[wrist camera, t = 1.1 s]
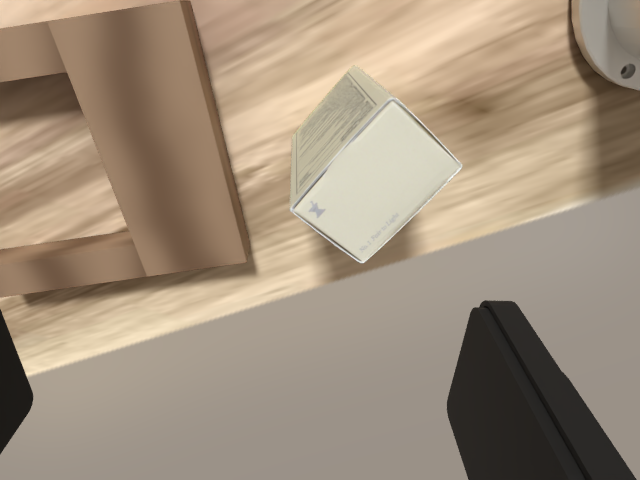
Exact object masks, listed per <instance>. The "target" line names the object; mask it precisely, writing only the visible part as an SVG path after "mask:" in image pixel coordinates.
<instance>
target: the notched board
mask: <svg viewBox="0 0 640 480" xmlns="http://www.w3.org/2000/svg"><path fill="white" fill-rule="evenodd" d="M64 72H67V74H68V76H69V79H70V81H71V84H72V86H73V89H74V91H75V94H76V96H77V99H78V102H79V104H80V107H81V109H82V112H83V114H84V117H85V119H86V122H87V125H88V127H89V130H90V132H91V135H92V137H93V140H94V142H95V145H96V147H97V150H98V153H99V155H100V158H101V160H102V163H103V165H104V168H105V170H106V173H107V175H108V178H109V181H110V183H111V186H112V188H113V191H114V193H115V196H116V198H117V201H118V204H119V206H120V209H121V211H122V214H123V216H124V219H125V221H126V224H127V226H128V229H129V231H126V232H119V233H112V234H105V235H98V236H91V237H84V238H77V239H70V240H64V241H57V242H50V243H43V244H36V245H29V246H22V247H15V248H8V249H2V250H0V297H8V296H15V295H22V294H29V293H36V292H43V291H50V290H57V289H64V288H71V287H78V286H85V285H92V284H99V283H106V282H113V281H120V280H127V279H134V278H141V277H148V276H155V275H162V274H169V273H176V272H183V271H190V270H197V269H204V268H211V267H218V266H225V265H232V264H239V263H246V262H247V258H248V253H249V248H250V243H249V239H248V234H247V230H246V226H245V222H244V218H243V214H242V210H241V206H240V202H239V198H238V194H237V190H236V186H235V182H234V178H233V173H232V169H231V165H230V161H229V157H228V153H227V149H226V145H225V141H224V137H223V133H222V129H221V125H220V121H219V117H218V113H217V108H216V104H215V100H214V96H213V92H212V88H211V84H210V80H209V76H208V72H207V68H206V64H205V60H204V56H203V52H202V47H201V43H200V39H199V35H198V31H197V27H196V23H195V19H194V15H193V11H192V7H191V3H190V1H185V0H179V1H173V2H167V3H160V4H154V5H148V6H141V7H135V8H128V9H122V10H116V11H109V12H103V13H97V14H90V15H84V16H78V17H71V18H65V19H59V20H52V21H46V22H40V23H33V24H27V25H20V26H14V27H8V28H1V29H0V82H5V81H12V80H18V79H25V78H31V77H38V76H44V75H51V74H57V73H64Z"/></svg>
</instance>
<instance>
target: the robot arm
mask: <svg viewBox="0 0 640 480" xmlns="http://www.w3.org/2000/svg"><path fill="white" fill-rule="evenodd" d="M572 23H573V29H574V34H575V39H576V41H577V44H578V46H579V48H580V50H581V53H582V55H583V57H584V58H585V59H586V61H587V62H588V63H589V65H590V66H591V67H592V69H593V70H594V71H596V72H597V73H598V74H600V75H601V76H602V77H603V78H605V79H606V80H608V81H610V82H613V83H615V84H617V85H620V86H622V87H627V88H631V89H635V90H640V0H572ZM32 402H33V393H32V390H31V387H30V384H29V382H28V379H27V377H26V374H25V372H24V369H23V366H22V364H21V361H20V359H19V356H18V354H17V351H16V348H15V346H14V343H13V341H12V338H11V336H10V333H9V330H8V328H7V325H6V323H5V320H4V317H3V315H2V312H1V310H0V454H1V452H2V451H3V449H4V448H5V447H6V445H7V444H8V442H9V441H10V439H11V438H12V436H13V435H14V433H15V432H16V430H17V429H18V427H19V426H20V424H21V423H22V421H23V420H24V418H25V417H26V416H27V414H28V412H29V411H30V409H31V406H32ZM447 413H448V418H449V421H450V424H451V427H452V430H453V433H454V436H455V439H456V442H457V445H458V448H459V452H460V455H461V458H462V461H463V464H464V467H465V470H466V473H467V476H468V479H469V480H636V478H635V477H634V475H633V474H632V472H631V471H630V469H629V468H628V467H627V465H626V463H625V462H624V460H623V459H622V458H621V456H620V454H619V453H618V451H617V450H616V448H615V447H614V446H613V444H612V442H611V441H610V439H609V438H608V437H607V435H606V433H605V432H604V431H603V429H602V428H601V426H600V425H599V423H598V422H597V420H596V419H595V417H594V416H593V414H592V413H591V411H590V410H589V408H588V407H587V405H586V404H585V403H584V401H583V399H582V398H581V396H580V395H579V393H578V392H577V390H576V389H575V388H574V386H573V385H572V383H571V382H570V380H569V379H568V378H567V377H566V375H565V374H564V373H563V372H562V371H561V370H560V368H559V367H558V365H557V364H556V362H555V361H554V360H553V358H552V356H551V355H550V353H549V352H548V350H547V349H546V347H545V346H544V344H543V343H542V341H541V340H540V338H539V337H538V335H537V334H536V332H535V331H534V330H533V328H532V327H531V325H530V323H529V322H528V320H527V319H526V317H525V316H524V314H523V313H522V311H521V310H520V308H519V307H518V306H517V304H516V303H515V302H512V301H483V302H482V303H481V305H480V307H479V308H473V309H472V311H471V313H470V317H469V321H468V324H467V328H466V332H465V336H464V340H463V343H462V347H461V351H460V355H459V358H458V362H457V366H456V369H455V373H454V377H453V381H452V384H451V388H450V392H449V396H448V400H447Z"/></svg>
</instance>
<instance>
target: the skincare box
mask: <svg viewBox="0 0 640 480" xmlns="http://www.w3.org/2000/svg"><path fill="white" fill-rule="evenodd" d="M461 168H462V164H461V163H460V162H459V160H458V159H457V158H456V157H455V156H454V155H453V154H452V153H451V152H450V151H449V150H448V149H447V148H446V147H445V146H444V145H443V143H442V142H441V141H440V140H439V139H438V138H437V137H436V136H435V135H434V134H433V133H432V132H431V131H430V130H429V129H428V128H427V127H426V126H425V125H424V124H423V123H422V122H421V121H420V120H419V119H418V118H417V117H416V116H415V115H414V114H413V113H412V112H411V111H410V110H409V109H408V108H407V107H406V106H405V105H404V104H403V103H402V102H401V101H399V100H398V99H397V98H396V97H395V96H394V95H392V94H391V93H390V92H388V91H387V90H386V89H385V88H384V87H382V86H381V85H380V84H379V83H377V82H376V81H375V80H374V79H373V78H371V77H370V76H369V75H368V74H366V73H365V72H364V71H363V70H362V69H360V68H359V67H358V66H356V65H354V66H352V67H351V68H350V69H349V70H348V71H347V73H346V74H345V75H344V76H343V77H342V78H341V79H340V80H339V82H338V83H337V84H336V85H335V86H334V87H333V88H332V90H331V91H330V92H329V93H328V94H327V95H326V96H325V98H324V99H323V100H322V101H321V102H320V103H319V105H318V106H317V107H316V108H315V109H314V110H313V112H312V113H311V114H310V115H309V116H308V118H307V119H306V120H305V121H304V122H303V124H302V125H301V126H300V127H299V129H298V130H297V131H296V132H295V134H294V135H293V136H292V152H291V180H290V182H291V183H290V211H291V212H292V213H293V214H295V215H296V216H297V217H299V218H300V219H301V220H302V221H303V222H305V223H306V224H307V225H309V226H310V227H311V228H312V229H314V230H315V231H316V232H317V233H319V234H320V235H322V236H323V237H324V238H326V239H327V240H328V241H330V242H331V243H332V244H333V245H335V246H336V247H338V248H339V249H340V250H342V251H343V252H344V253H346V254H347V255H349V256H350V257H352V258H353V259H355V260H356V261H357V262H359V263H364V262H366V261H367V260H368V259H369V258H370V257H371V256H373V255H374V254H375V253H376V252H377V251H378V250H379V249H380V248H382V247H383V246H384V245H385V244H386V243H387V242H388V241H389V240H390V239H391V238H392V237H393V236H394V235H395V234H396V233H397V232H398V231H399V230H400V229H402V228H403V227H404V226H405V225H406V224H407V223H408V222H409V221H410V220H411V219H412V218H413V217H414V216H415V215H416V214H417V213H418V212H419V211H420V210H421V209H422V208H423V207H424V206H425V205H426V204H427V203H428V202H429V201H430V200H431V199H432V198H433V197H434V196H435V195H436V194H437V193H438V192H439V191H440V190H441V189H442V188H443V187H444V186H445V185H446V184H447V183H448V182H449V181H450V180H451V179H452V178H453V177H454V176H455V175H456V174H457V173H458V172H459V171H460V170H461Z"/></svg>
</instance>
